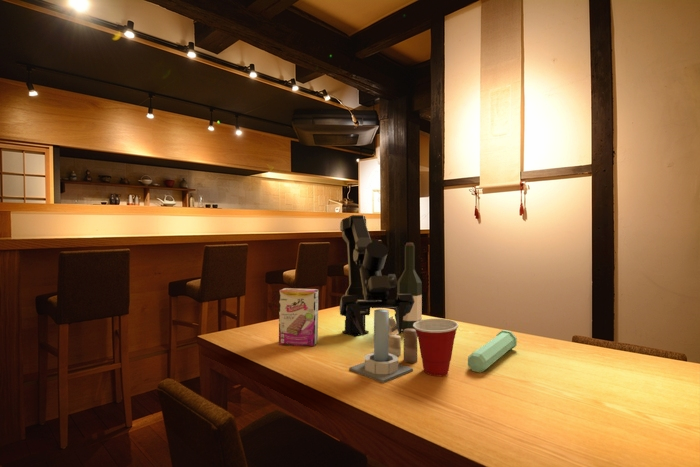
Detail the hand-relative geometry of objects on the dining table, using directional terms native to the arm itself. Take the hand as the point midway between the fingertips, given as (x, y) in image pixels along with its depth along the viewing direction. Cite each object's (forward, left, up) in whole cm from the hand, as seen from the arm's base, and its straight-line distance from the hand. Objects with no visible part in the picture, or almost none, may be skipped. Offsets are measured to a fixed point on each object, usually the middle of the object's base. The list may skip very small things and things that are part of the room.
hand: (382, 333), depth 93 cm
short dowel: (-12, -6, -9) cm, 16 cm away
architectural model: (-22, -15, -10) cm, 28 cm away
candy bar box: (+2, -32, -9) cm, 34 cm away
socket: (0, -1, -9) cm, 9 cm away
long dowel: (0, -1, -9) cm, 9 cm away
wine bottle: (-35, -19, -9) cm, 41 cm away
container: (-28, +14, -10) cm, 33 cm away
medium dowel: (-11, 0, -9) cm, 15 cm away
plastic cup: (-9, +9, -9) cm, 16 cm away
